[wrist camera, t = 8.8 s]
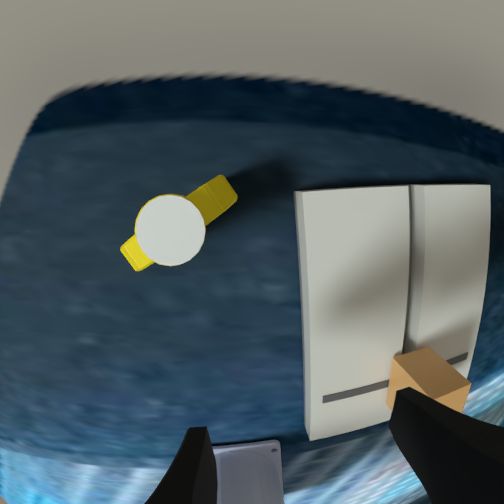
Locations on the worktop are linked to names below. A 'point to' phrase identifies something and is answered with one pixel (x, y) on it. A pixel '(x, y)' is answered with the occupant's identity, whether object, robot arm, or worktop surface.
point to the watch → (176, 225)
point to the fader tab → (428, 378)
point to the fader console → (385, 290)
